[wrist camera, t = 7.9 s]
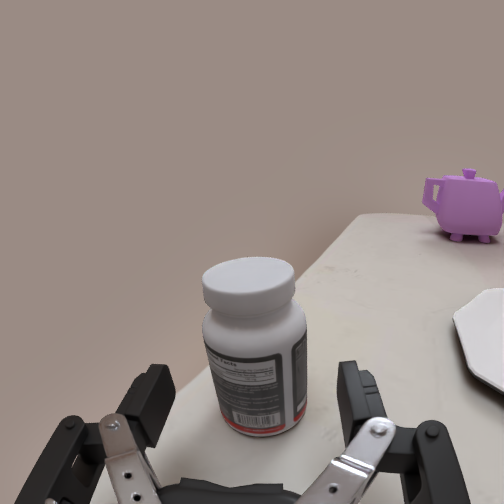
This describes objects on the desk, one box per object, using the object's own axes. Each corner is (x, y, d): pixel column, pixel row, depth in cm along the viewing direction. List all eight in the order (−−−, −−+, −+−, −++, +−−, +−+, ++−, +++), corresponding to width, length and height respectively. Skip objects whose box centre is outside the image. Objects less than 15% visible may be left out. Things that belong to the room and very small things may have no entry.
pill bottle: (269, 370, 22) (258, 246, 19) (324, 406, 18) (329, 267, 15) (205, 405, 19) (174, 273, 16) (255, 455, 15) (233, 310, 12)
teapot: (425, 242, 46) (427, 168, 42) (417, 225, 57) (418, 164, 53) (520, 247, 38) (526, 176, 34) (499, 229, 49) (502, 170, 45)
